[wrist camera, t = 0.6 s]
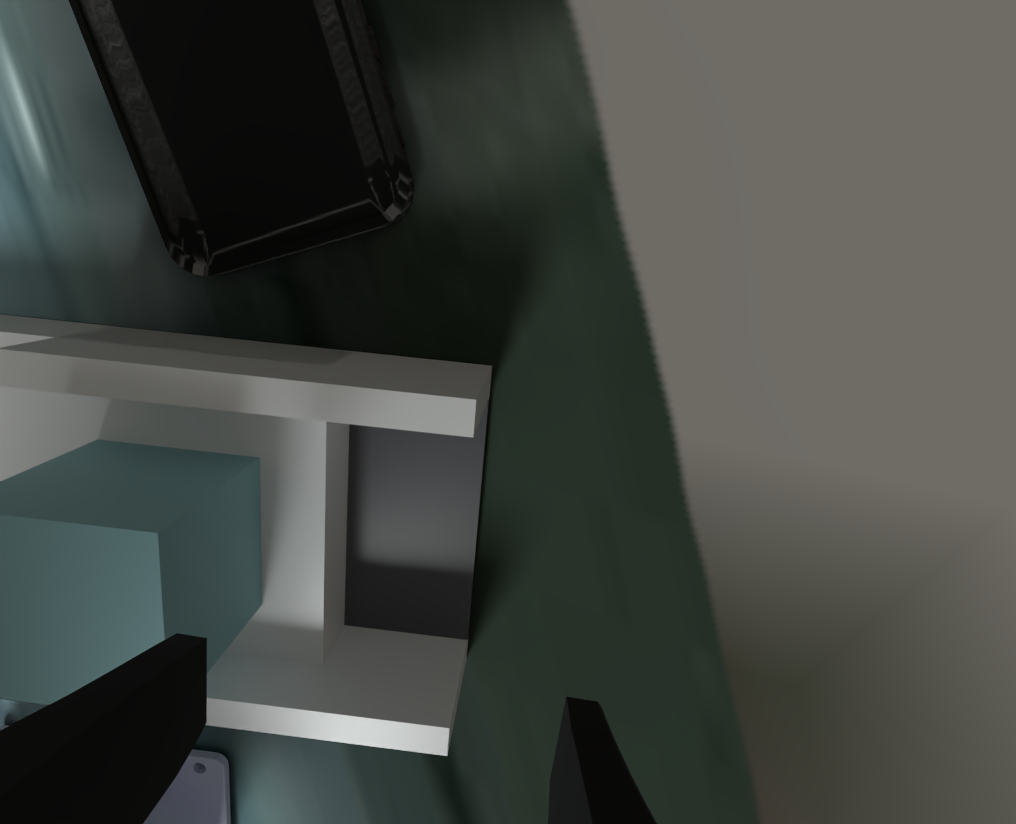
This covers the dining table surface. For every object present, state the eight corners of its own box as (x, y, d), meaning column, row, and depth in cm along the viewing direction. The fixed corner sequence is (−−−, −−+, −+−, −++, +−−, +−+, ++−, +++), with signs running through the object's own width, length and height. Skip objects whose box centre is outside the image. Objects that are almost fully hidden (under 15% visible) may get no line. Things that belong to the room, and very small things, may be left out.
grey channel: (-94, 590, 24) (-239, 668, 19) (-149, 298, 21) (-335, 313, 16) (466, 658, 23) (447, 755, 18) (492, 365, 20) (476, 399, 15)
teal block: (110, 586, 20) (-30, 695, 15) (97, 439, 19) (-61, 507, 14) (262, 604, 20) (169, 720, 15) (259, 457, 18) (157, 532, 14)
